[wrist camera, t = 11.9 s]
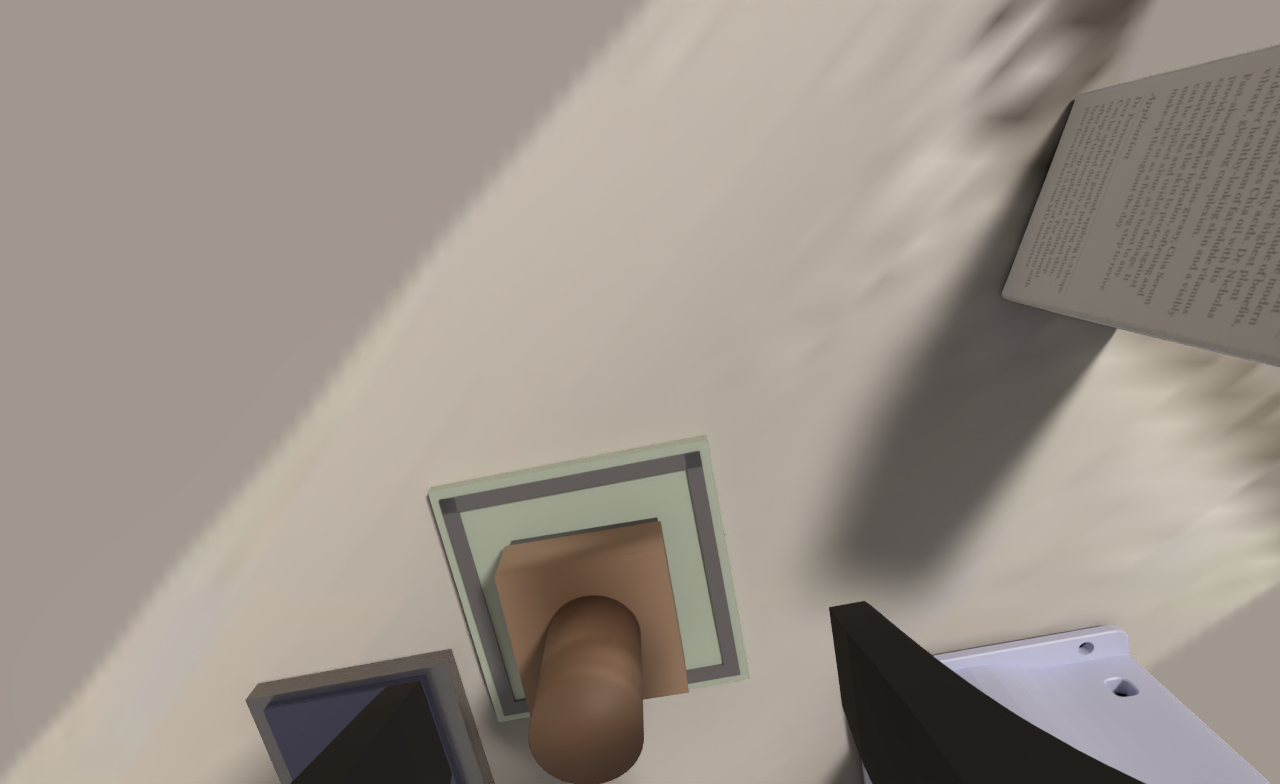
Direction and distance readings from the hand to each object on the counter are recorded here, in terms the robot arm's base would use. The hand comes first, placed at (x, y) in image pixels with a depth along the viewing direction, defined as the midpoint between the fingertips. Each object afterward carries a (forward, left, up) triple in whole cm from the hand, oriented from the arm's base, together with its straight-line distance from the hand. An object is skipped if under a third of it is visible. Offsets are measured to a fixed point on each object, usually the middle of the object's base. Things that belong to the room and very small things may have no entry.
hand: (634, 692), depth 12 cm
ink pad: (+11, +9, -10) cm, 18 cm away
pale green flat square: (+2, +4, -10) cm, 11 cm away
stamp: (+2, +4, -10) cm, 11 cm away
